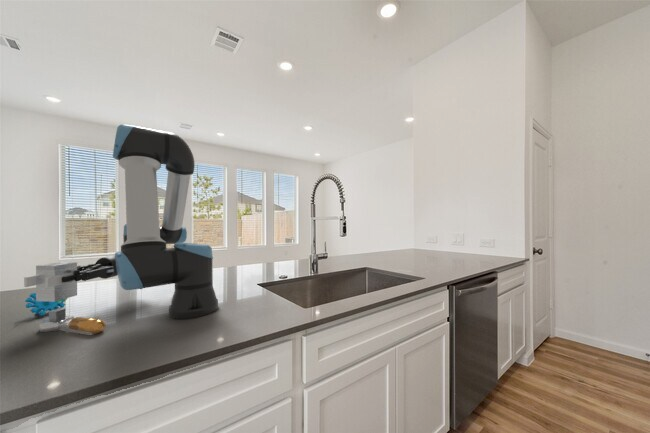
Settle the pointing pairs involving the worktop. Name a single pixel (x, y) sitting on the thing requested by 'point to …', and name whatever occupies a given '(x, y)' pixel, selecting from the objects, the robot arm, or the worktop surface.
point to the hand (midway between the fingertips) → (36, 282)
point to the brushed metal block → (60, 290)
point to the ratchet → (71, 323)
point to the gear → (43, 305)
